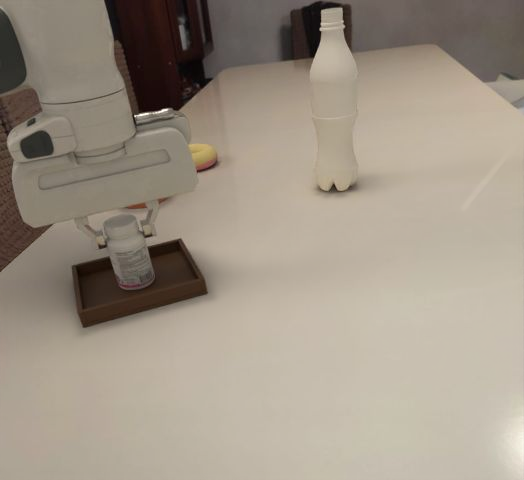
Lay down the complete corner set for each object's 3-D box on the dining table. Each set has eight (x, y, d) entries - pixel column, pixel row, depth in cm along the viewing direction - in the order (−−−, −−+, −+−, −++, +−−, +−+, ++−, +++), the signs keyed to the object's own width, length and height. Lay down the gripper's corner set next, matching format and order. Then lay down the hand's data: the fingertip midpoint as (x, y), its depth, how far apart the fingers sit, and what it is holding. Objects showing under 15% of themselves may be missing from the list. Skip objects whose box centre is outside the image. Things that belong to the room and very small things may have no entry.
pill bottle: (119, 276, 70) (100, 216, 65) (155, 269, 70) (139, 209, 65) (118, 294, 66) (98, 232, 61) (156, 287, 67) (139, 224, 62)
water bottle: (310, 194, 87) (300, 15, 72) (319, 178, 92) (312, 8, 77) (354, 194, 85) (353, 10, 70) (361, 178, 90) (361, 3, 75)
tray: (83, 327, 62) (77, 313, 61) (75, 278, 72) (71, 265, 71) (207, 293, 65) (204, 279, 64) (183, 250, 75) (181, 237, 74)
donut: (200, 185, 102) (227, 162, 107) (197, 163, 98) (225, 140, 103) (160, 173, 106) (188, 151, 111) (155, 151, 102) (184, 130, 107)
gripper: (179, 99, 61) (200, 212, 70) (-6, 135, 57) (41, 251, 65) (192, 109, 56) (213, 230, 65) (-9, 149, 52) (41, 273, 60)
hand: (125, 241), depth 65 cm, fingers closed on pill bottle, 5 cm apart
